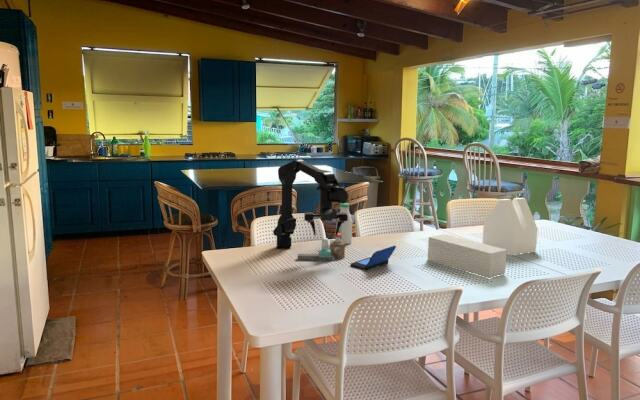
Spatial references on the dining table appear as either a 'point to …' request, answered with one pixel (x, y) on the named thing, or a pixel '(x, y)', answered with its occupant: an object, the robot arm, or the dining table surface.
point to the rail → (314, 257)
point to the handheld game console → (375, 259)
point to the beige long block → (467, 255)
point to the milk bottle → (346, 225)
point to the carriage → (324, 249)
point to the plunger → (337, 237)
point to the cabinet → (337, 249)
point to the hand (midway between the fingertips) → (325, 235)
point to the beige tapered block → (511, 227)
